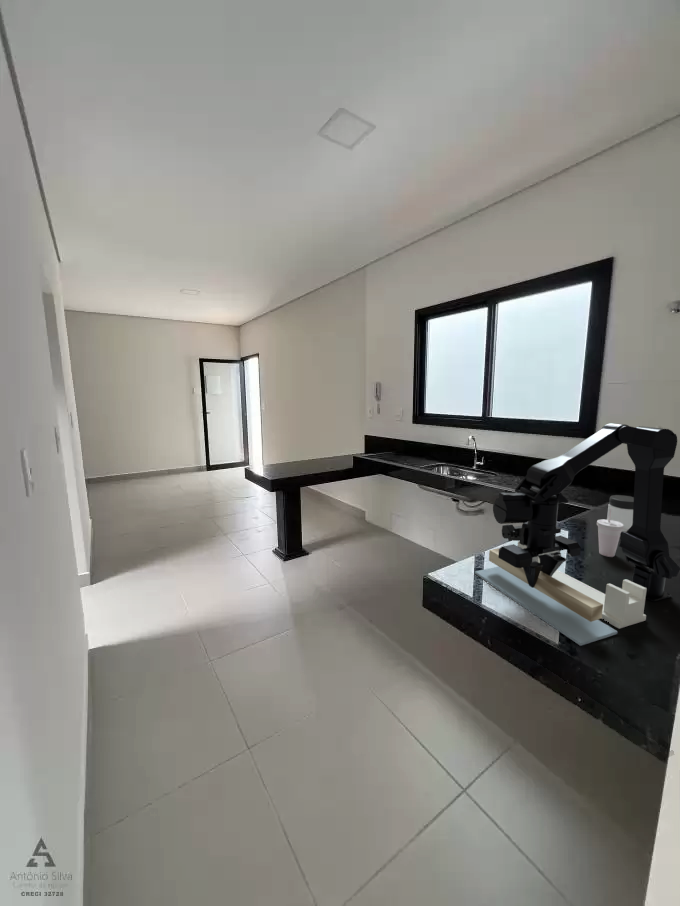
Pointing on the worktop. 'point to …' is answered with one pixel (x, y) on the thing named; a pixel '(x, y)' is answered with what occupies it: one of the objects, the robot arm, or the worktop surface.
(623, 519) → the jar
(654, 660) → the worktop surface
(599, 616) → the rail
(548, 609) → the mat
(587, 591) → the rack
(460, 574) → the worktop surface
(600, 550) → the smoothie
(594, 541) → the worktop surface
